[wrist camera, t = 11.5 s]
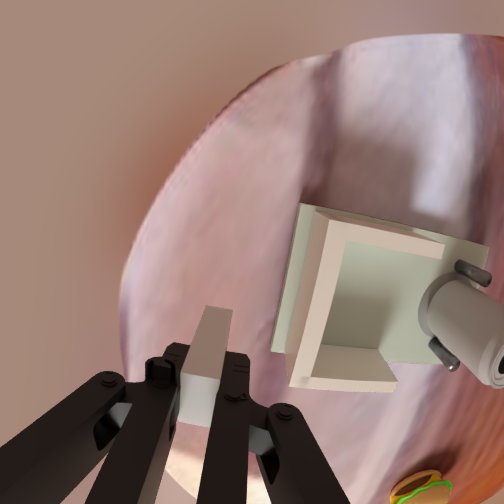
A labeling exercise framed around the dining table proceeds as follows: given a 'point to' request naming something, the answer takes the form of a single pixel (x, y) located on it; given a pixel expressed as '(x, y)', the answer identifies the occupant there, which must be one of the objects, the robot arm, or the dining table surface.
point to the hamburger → (422, 489)
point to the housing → (319, 302)
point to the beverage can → (470, 329)
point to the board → (377, 291)
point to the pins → (476, 276)
